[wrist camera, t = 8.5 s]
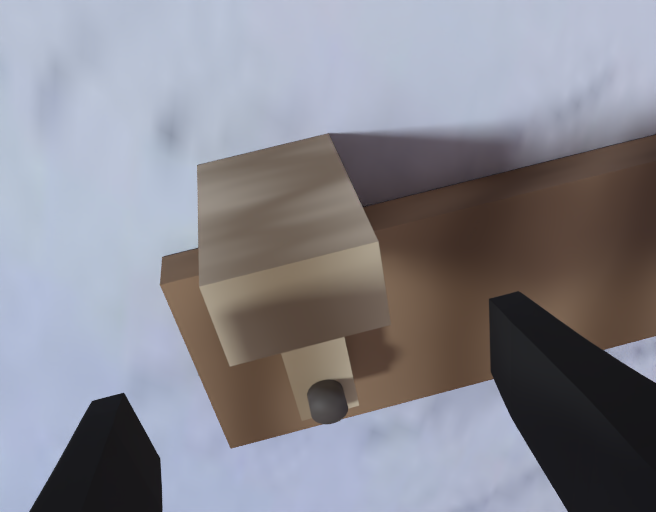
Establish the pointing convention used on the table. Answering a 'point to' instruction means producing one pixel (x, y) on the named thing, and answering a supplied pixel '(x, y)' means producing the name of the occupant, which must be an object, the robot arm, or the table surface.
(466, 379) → the walnut board
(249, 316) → the marking gauge
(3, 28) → the table surface
